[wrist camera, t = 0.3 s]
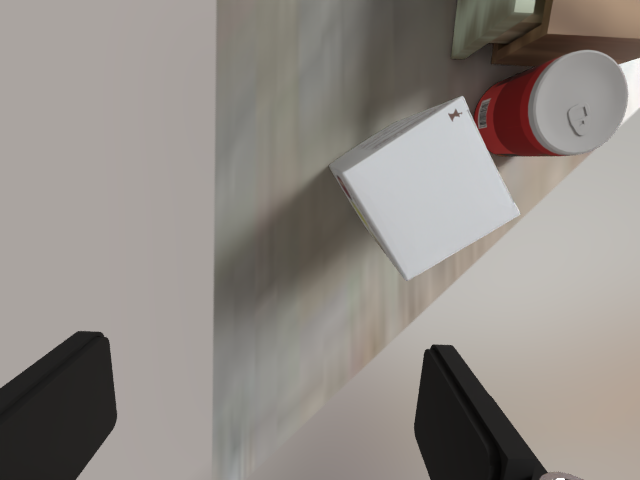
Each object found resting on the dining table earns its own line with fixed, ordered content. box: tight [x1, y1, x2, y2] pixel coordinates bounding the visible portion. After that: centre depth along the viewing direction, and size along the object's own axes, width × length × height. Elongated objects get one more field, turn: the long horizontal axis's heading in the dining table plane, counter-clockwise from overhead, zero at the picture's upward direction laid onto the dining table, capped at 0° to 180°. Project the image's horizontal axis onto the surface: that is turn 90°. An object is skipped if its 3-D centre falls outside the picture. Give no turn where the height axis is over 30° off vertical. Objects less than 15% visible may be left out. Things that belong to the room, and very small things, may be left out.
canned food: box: [473, 50, 628, 156], centre depth 32 cm, size 8×8×11 cm
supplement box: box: [329, 96, 521, 281], centre depth 31 cm, size 10×9×17 cm
